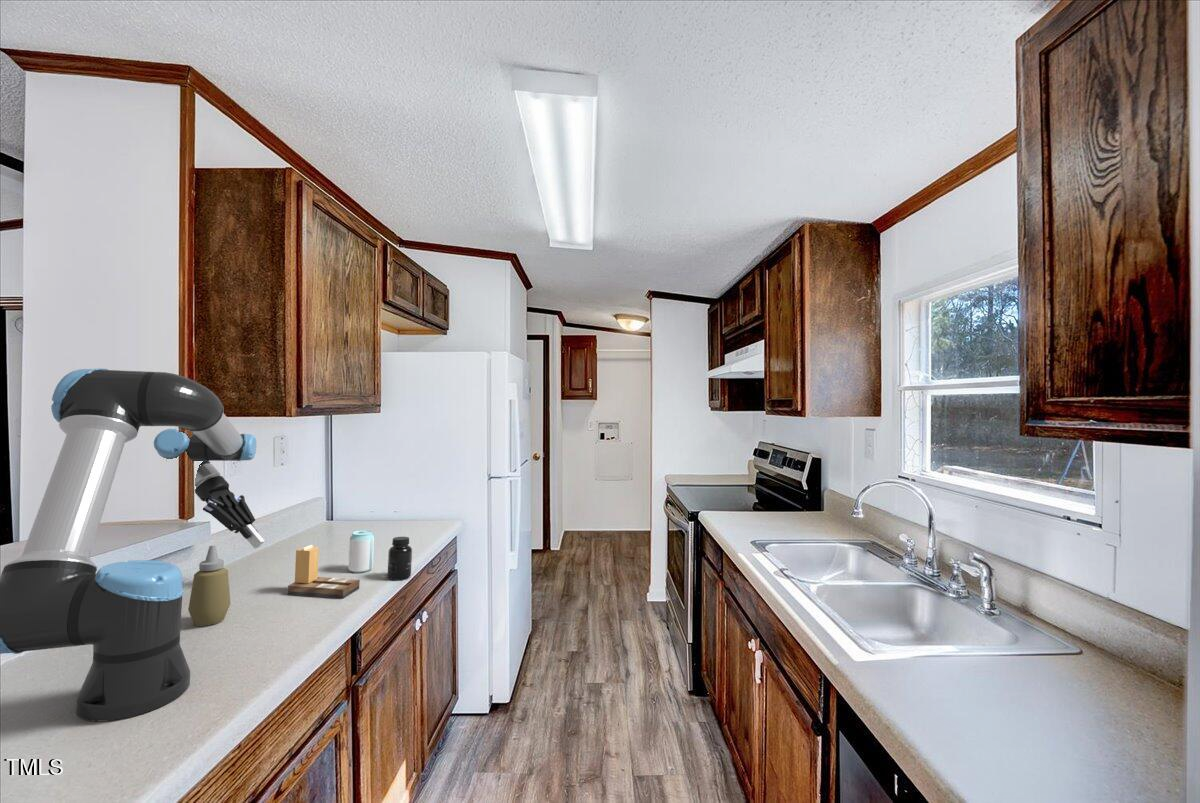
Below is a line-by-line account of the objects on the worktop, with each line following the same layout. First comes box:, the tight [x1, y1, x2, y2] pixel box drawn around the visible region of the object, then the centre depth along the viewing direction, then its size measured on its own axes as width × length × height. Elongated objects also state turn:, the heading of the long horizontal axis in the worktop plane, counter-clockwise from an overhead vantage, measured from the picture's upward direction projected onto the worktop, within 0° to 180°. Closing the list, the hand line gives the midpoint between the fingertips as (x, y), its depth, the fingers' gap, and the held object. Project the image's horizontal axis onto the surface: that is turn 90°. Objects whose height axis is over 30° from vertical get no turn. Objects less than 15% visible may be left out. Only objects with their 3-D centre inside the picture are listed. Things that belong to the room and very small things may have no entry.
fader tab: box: [294, 544, 320, 583], centre depth 146 cm, size 4×4×11 cm
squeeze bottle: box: [188, 545, 231, 627], centre depth 124 cm, size 8×8×18 cm
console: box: [287, 576, 361, 600], centre depth 146 cm, size 16×8×3 cm, turn 85°
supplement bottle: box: [386, 536, 413, 581], centre depth 160 cm, size 7×7×12 cm
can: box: [348, 529, 375, 574], centre depth 165 cm, size 7×7×12 cm
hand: (259, 544), depth 149 cm, fingers closed
